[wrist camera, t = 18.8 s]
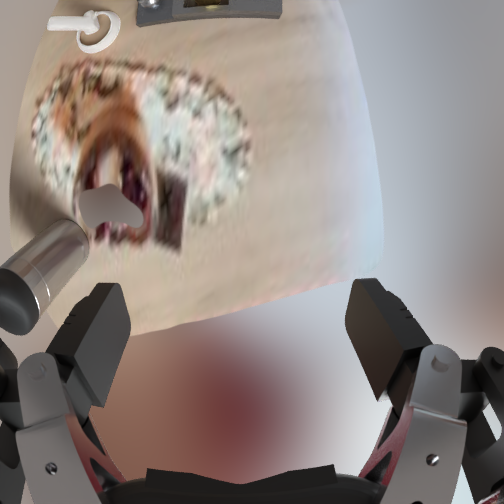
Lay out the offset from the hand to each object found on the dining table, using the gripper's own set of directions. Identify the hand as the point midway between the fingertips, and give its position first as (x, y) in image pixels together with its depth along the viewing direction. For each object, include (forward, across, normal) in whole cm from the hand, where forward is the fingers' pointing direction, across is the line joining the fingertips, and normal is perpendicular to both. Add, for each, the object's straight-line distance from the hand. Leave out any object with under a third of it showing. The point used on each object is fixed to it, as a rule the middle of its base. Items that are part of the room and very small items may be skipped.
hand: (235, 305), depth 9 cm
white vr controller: (+33, +21, -23) cm, 46 cm away
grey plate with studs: (+33, +4, -26) cm, 42 cm away
